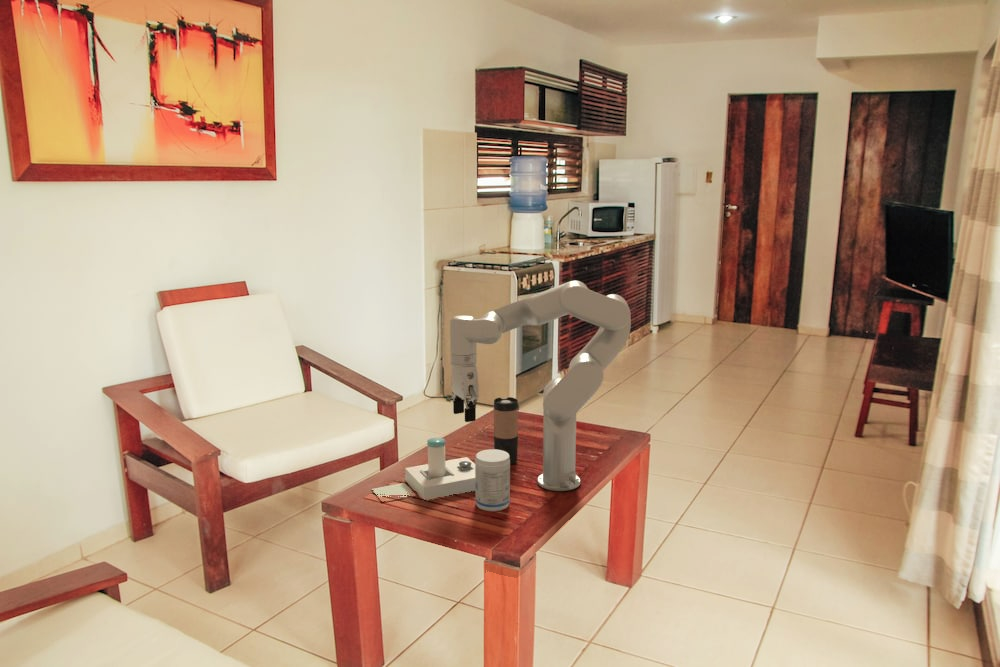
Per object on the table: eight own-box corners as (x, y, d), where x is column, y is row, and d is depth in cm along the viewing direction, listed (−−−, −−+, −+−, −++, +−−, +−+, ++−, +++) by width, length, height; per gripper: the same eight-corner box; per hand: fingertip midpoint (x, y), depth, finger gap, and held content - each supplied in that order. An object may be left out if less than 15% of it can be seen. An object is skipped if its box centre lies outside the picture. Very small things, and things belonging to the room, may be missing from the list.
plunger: (473, 479, 225) (473, 464, 224) (462, 481, 224) (461, 466, 223) (468, 475, 228) (468, 460, 228) (457, 477, 227) (457, 462, 226)
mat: (415, 496, 215) (415, 495, 215) (381, 503, 211) (381, 502, 211) (404, 483, 224) (404, 482, 224) (371, 489, 220) (371, 488, 220)
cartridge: (448, 487, 221) (448, 442, 218) (432, 491, 219) (431, 445, 216) (442, 481, 226) (441, 436, 223) (425, 484, 224) (424, 439, 221)
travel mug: (508, 467, 237) (508, 405, 233) (489, 461, 241) (488, 401, 237) (522, 459, 243) (522, 399, 238) (503, 454, 247) (503, 395, 243)
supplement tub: (474, 498, 214) (473, 449, 211) (508, 497, 215) (507, 447, 212) (476, 513, 204) (476, 462, 201) (511, 512, 205) (511, 460, 202)
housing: (488, 487, 221) (488, 474, 220) (424, 501, 212) (423, 486, 212) (466, 469, 235) (466, 456, 234) (405, 480, 226) (404, 467, 226)
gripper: (488, 363, 212) (488, 423, 216) (463, 351, 228) (464, 407, 231) (463, 367, 209) (464, 427, 213) (440, 353, 225) (441, 410, 228)
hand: (464, 416), depth 222 cm, fingers open, 7 cm apart
